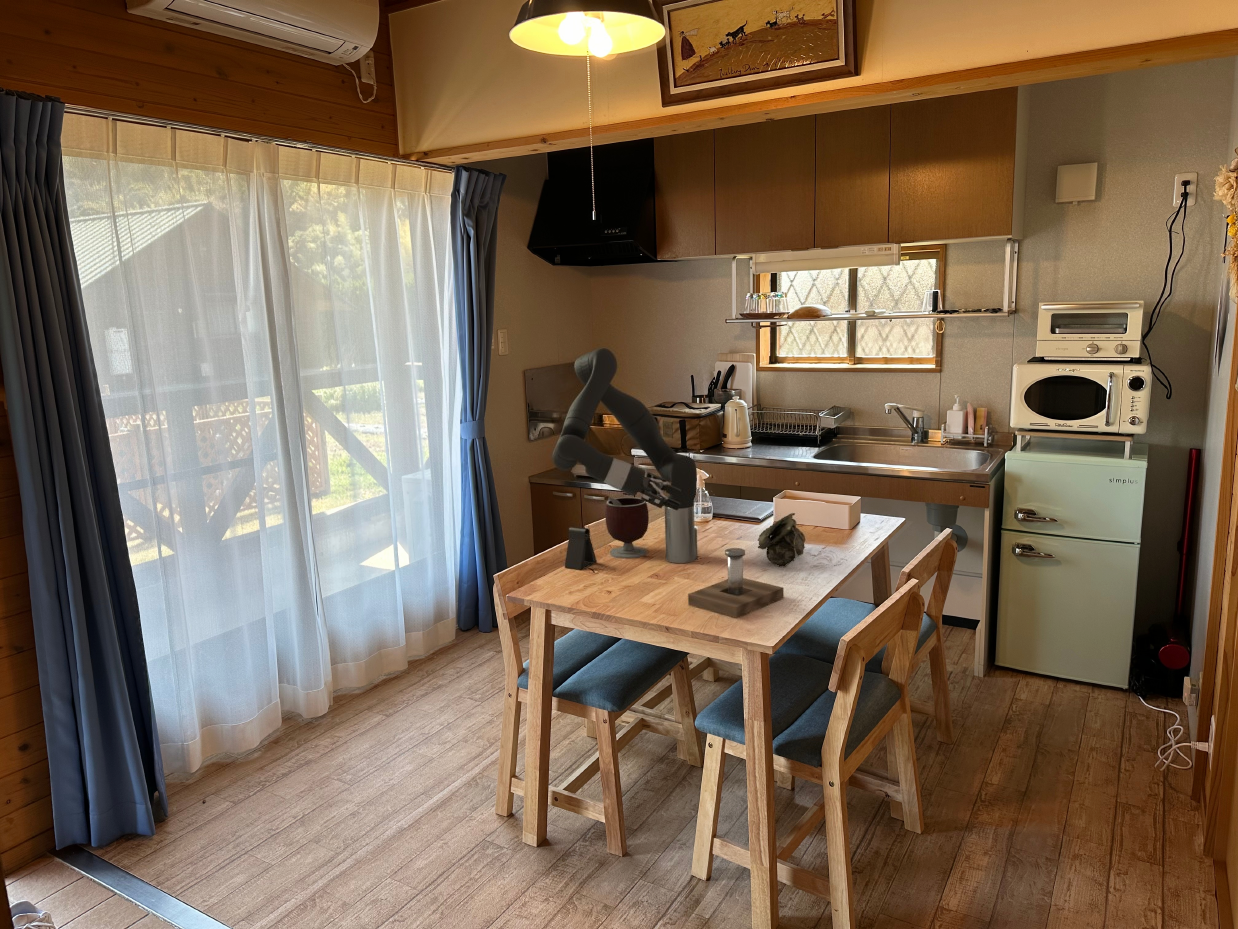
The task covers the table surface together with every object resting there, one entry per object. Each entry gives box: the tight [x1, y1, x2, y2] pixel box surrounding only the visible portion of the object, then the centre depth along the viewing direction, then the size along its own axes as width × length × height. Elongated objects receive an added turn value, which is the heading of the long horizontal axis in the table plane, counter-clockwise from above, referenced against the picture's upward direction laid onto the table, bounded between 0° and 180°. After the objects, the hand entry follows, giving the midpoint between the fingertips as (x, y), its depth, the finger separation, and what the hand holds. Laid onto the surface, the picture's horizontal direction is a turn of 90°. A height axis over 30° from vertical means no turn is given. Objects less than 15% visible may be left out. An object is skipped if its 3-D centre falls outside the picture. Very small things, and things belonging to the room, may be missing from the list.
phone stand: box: [564, 526, 598, 571], centre depth 265 cm, size 9×6×12 cm, turn 147°
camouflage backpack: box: [757, 512, 806, 568], centre depth 263 cm, size 28×13×15 cm
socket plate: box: [687, 577, 785, 620], centre depth 227 cm, size 20×16×3 cm
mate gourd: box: [604, 496, 650, 559], centre depth 275 cm, size 16×14×20 cm
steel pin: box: [724, 547, 746, 596], centre depth 226 cm, size 5×5×14 cm
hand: (679, 500), depth 230 cm, fingers open, 8 cm apart
